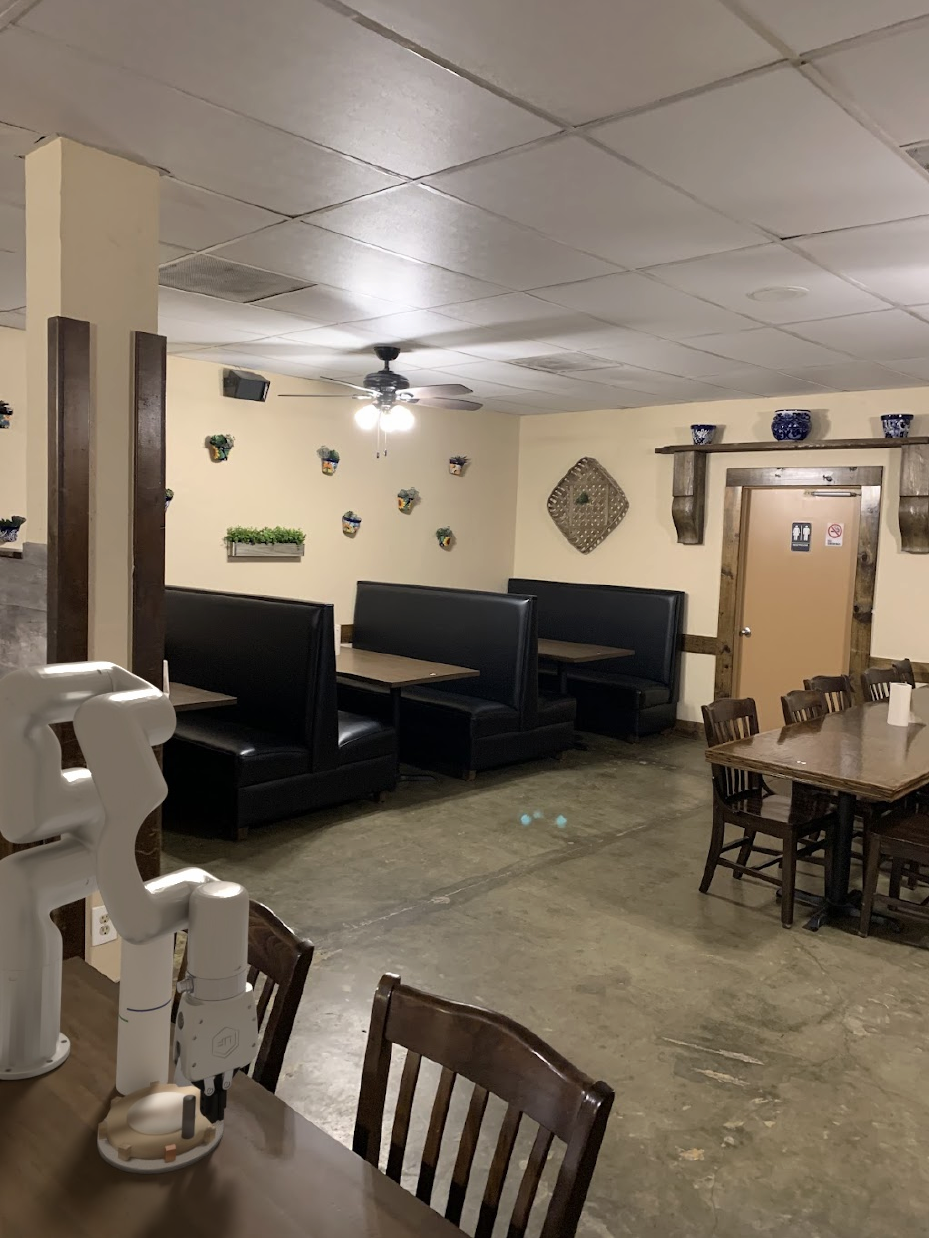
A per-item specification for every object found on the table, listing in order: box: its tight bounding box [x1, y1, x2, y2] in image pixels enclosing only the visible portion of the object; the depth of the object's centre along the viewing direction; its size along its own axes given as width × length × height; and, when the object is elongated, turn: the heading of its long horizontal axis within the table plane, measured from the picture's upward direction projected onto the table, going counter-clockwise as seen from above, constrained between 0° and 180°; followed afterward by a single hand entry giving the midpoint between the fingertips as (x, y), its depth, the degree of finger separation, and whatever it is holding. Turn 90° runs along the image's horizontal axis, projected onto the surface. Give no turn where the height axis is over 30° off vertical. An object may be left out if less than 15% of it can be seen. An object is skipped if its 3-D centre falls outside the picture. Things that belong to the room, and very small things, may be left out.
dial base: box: [96, 1116, 225, 1175], centre depth 126 cm, size 16×16×1 cm
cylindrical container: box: [115, 933, 175, 1096], centre depth 136 cm, size 7×7×25 cm
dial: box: [97, 1081, 216, 1162], centre depth 125 cm, size 15×15×6 cm
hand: (212, 1116), depth 123 cm, fingers closed
